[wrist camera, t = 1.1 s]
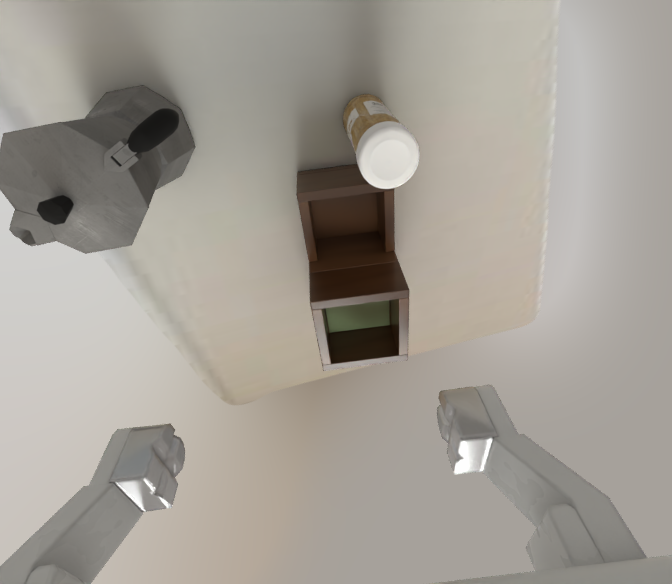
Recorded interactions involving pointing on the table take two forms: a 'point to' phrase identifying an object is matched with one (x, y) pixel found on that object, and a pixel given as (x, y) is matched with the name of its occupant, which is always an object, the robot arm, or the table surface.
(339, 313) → the caddy
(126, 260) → the table surface
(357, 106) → the sprinkles bottle
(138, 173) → the coffeepot
